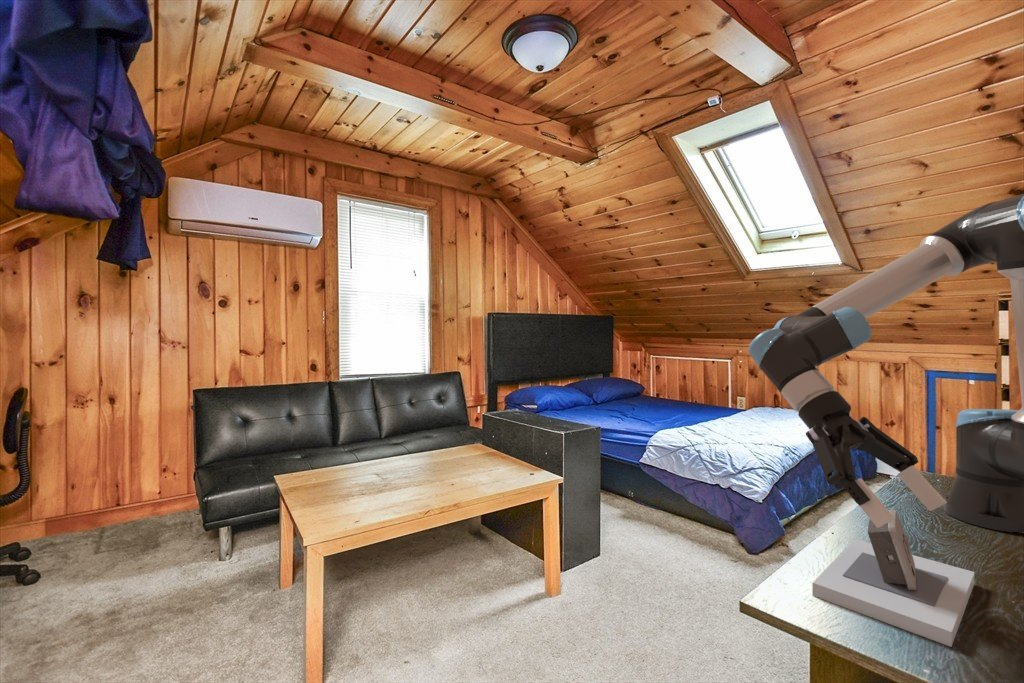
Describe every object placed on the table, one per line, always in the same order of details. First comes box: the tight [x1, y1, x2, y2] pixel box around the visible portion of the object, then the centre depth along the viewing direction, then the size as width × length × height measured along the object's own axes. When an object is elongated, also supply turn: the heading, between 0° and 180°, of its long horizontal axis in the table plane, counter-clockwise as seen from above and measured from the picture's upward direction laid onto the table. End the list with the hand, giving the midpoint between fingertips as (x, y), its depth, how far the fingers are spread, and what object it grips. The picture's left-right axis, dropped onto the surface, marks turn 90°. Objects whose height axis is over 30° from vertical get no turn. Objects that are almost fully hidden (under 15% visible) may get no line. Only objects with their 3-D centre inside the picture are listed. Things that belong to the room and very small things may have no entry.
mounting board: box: [811, 538, 975, 648], centre depth 76 cm, size 22×16×2 cm
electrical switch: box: [867, 509, 916, 590], centre depth 76 cm, size 9×5×9 cm, turn 141°
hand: (913, 515), depth 73 cm, fingers open, 13 cm apart
